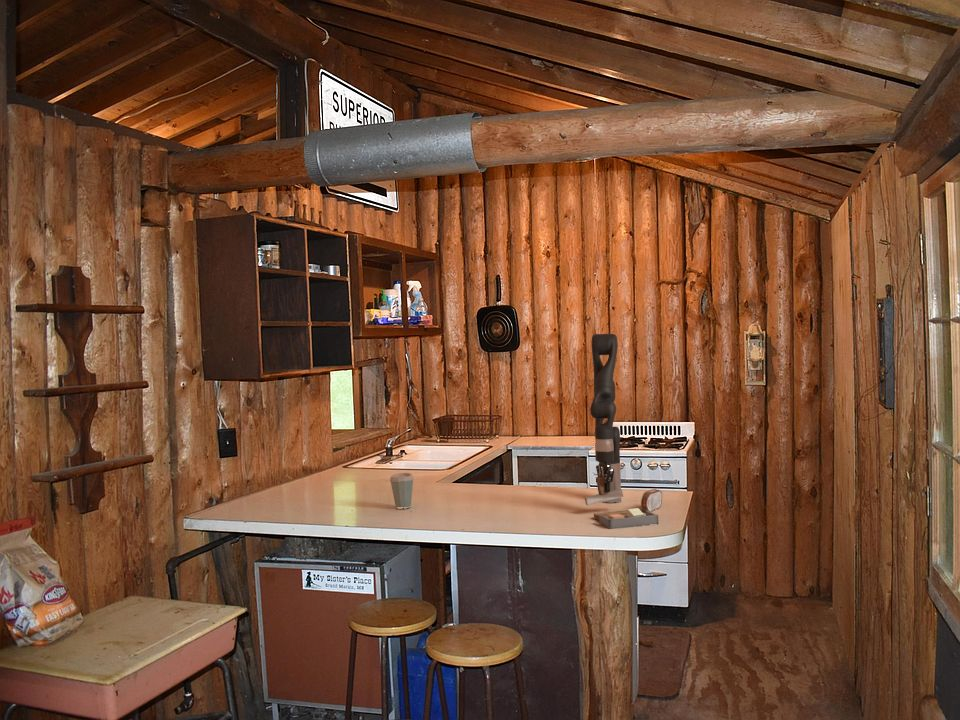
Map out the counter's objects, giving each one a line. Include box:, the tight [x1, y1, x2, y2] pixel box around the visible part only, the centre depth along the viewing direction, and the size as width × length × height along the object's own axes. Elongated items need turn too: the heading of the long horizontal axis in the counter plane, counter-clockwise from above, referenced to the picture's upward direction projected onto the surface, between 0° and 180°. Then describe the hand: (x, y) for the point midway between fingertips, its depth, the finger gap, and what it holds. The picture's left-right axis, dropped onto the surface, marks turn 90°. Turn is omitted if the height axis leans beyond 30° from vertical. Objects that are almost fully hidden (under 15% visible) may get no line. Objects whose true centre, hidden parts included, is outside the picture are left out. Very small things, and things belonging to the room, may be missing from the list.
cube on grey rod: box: [584, 476, 624, 506], centre depth 317 cm, size 3×16×10 cm, turn 105°
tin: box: [640, 488, 663, 512], centre depth 320 cm, size 15×3×8 cm, turn 141°
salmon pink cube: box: [608, 514, 624, 519], centre depth 297 cm, size 4×4×3 cm
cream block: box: [627, 507, 645, 517], centre depth 300 cm, size 4×4×3 cm
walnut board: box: [593, 509, 628, 522], centre depth 306 cm, size 10×17×2 cm, turn 105°
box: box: [599, 511, 659, 530], centre depth 297 cm, size 9×20×4 cm, turn 105°
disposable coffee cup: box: [389, 472, 414, 508], centre depth 340 cm, size 11×11×15 cm
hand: (605, 491), depth 317 cm, fingers closed on cube on grey rod, 3 cm apart
